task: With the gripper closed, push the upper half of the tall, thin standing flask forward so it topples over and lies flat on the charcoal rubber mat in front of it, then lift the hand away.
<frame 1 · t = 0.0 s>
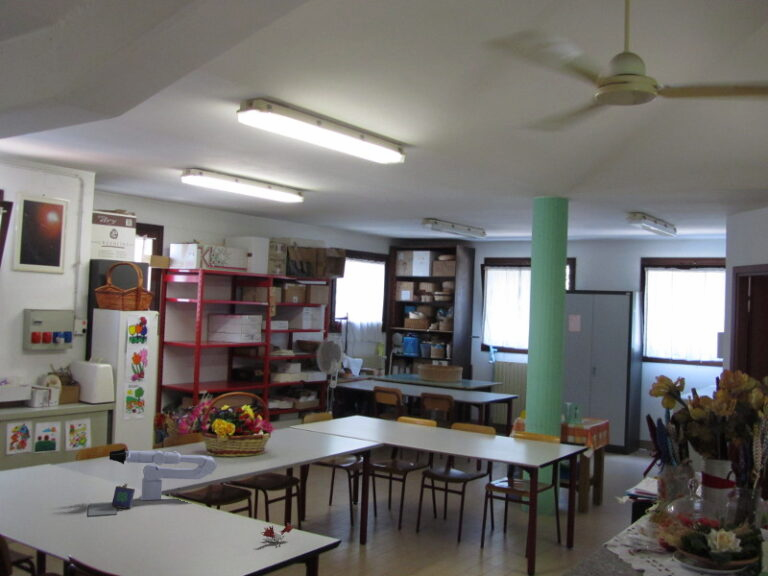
hand: (109, 455, 348), 22 cm above the table, tool horizontal, fingers open, 7 cm apart
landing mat: (102, 509, 332), on the table
figurine: (275, 541, 297), on the table
flask: (121, 507, 335), on the table, touching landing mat
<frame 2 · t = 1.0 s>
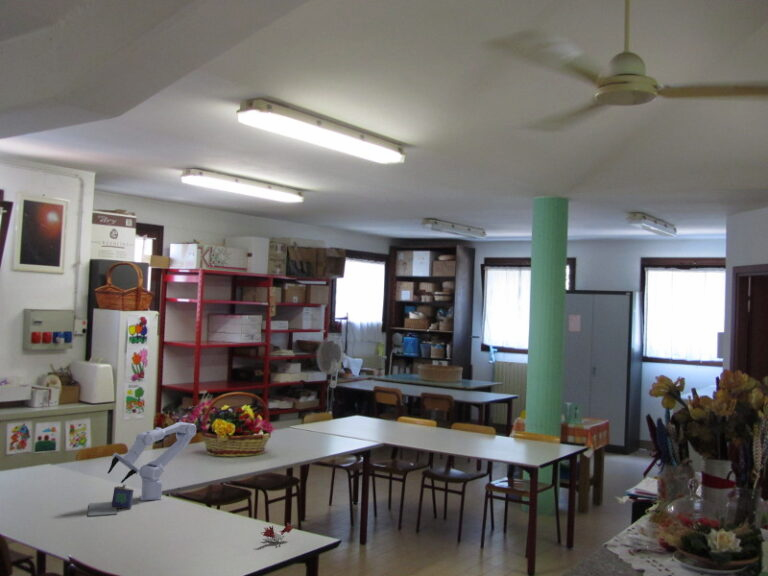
hand: (114, 477, 338), 13 cm above the table, tool tilted 45°, fingers open, 7 cm apart
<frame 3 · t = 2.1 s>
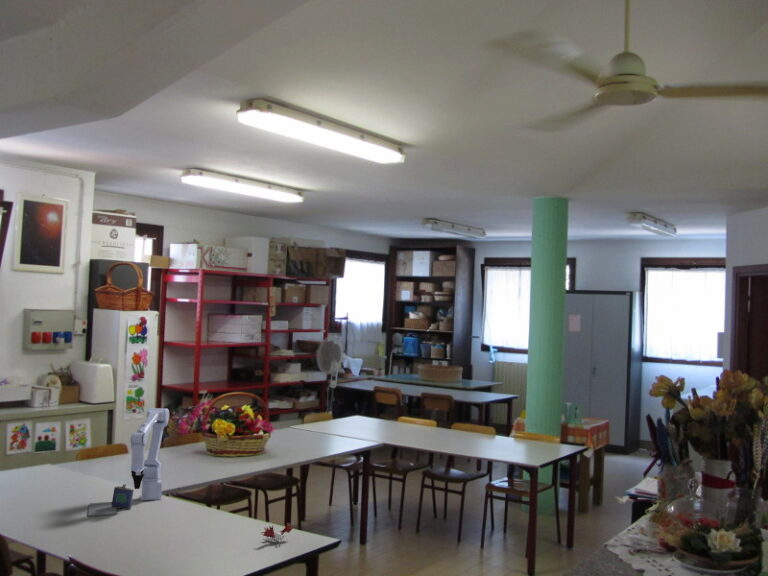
hand: (136, 487, 338), 9 cm above the table, tool pointing down, fingers open, 5 cm apart
nothing on the table moved.
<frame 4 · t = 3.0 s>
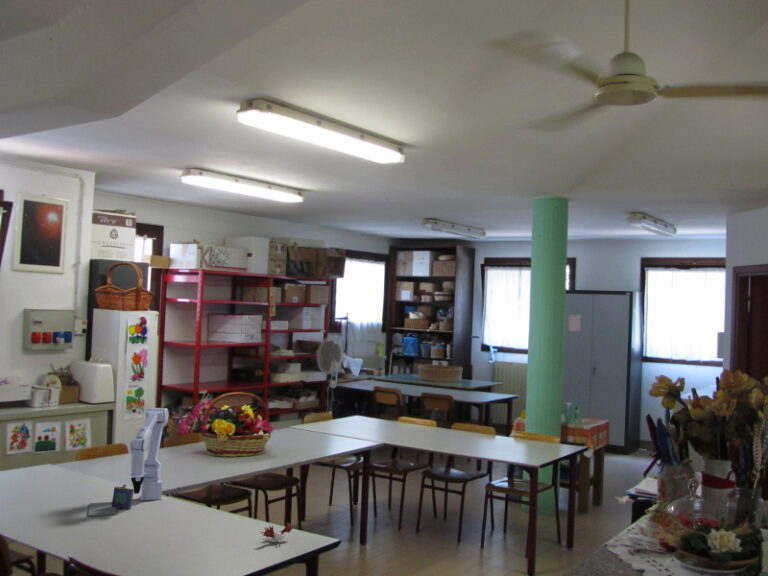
hand: (136, 493, 338), 7 cm above the table, tool pointing down, fingers closed
flask: (121, 507, 335), on the table, touching gripper, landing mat
everything else where it was.
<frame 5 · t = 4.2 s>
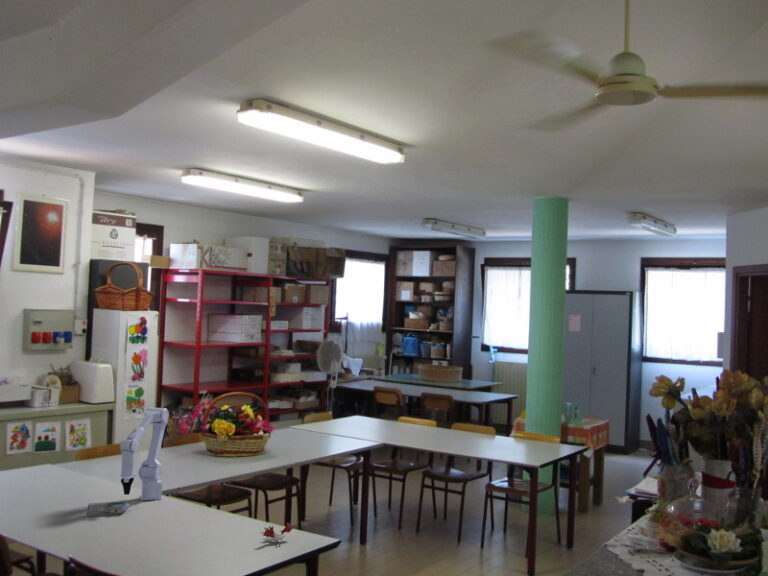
hand: (126, 494, 336), 6 cm above the table, tool pointing down, fingers closed
flask: (120, 504, 334), point 2 cm above the table, touching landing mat
everything else where it was.
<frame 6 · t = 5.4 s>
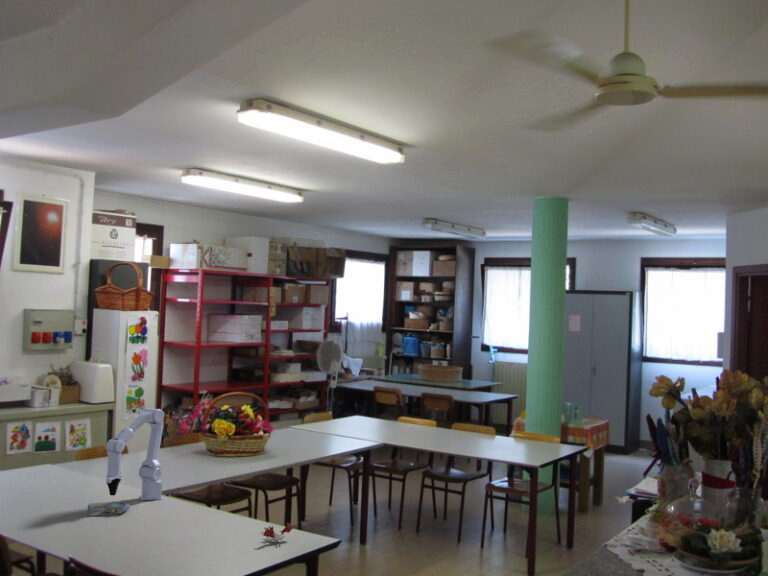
hand: (112, 495, 334), 6 cm above the table, tool pointing down, fingers closed
nothing on the table moved.
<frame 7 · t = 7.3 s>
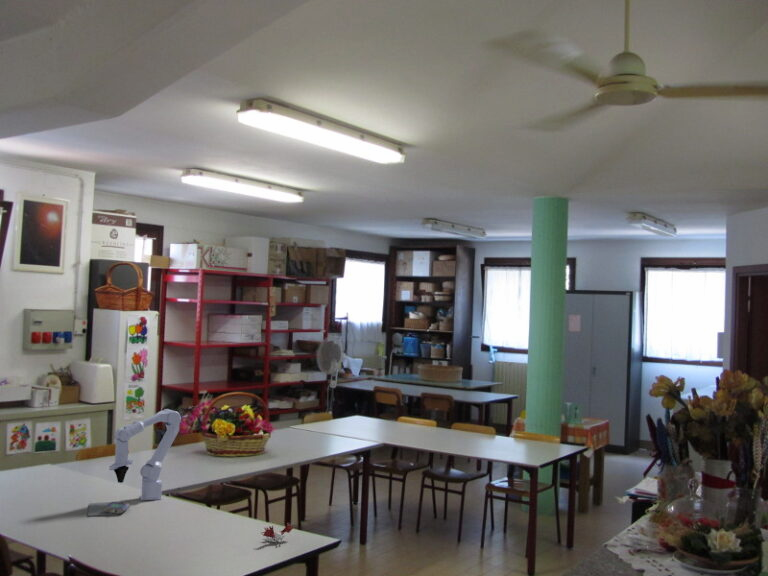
hand: (120, 482, 344), 10 cm above the table, tool pointing down, fingers closed
nothing on the table moved.
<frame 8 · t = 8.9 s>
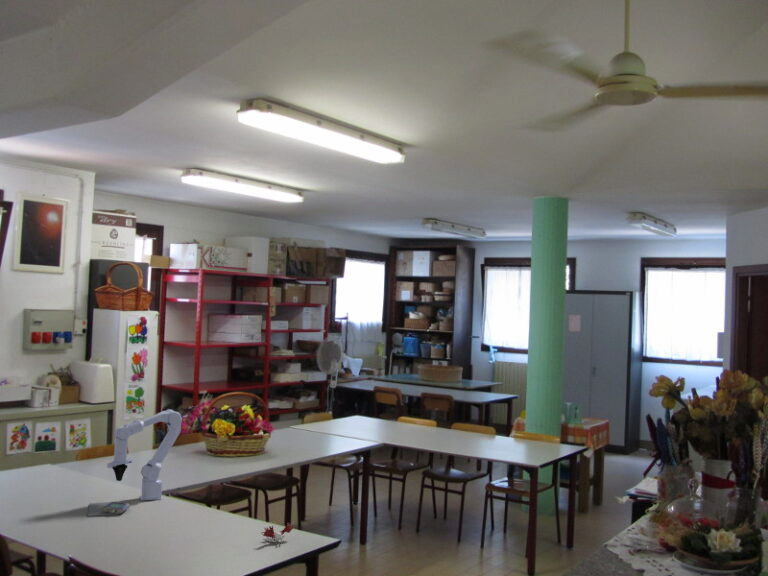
hand: (118, 480, 345), 10 cm above the table, tool pointing down, fingers closed
nothing on the table moved.
at the end: flask tilted 89°; flask inside the target area (6.1 cm from its centre), point 2.0 cm above the table; flask touching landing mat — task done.
